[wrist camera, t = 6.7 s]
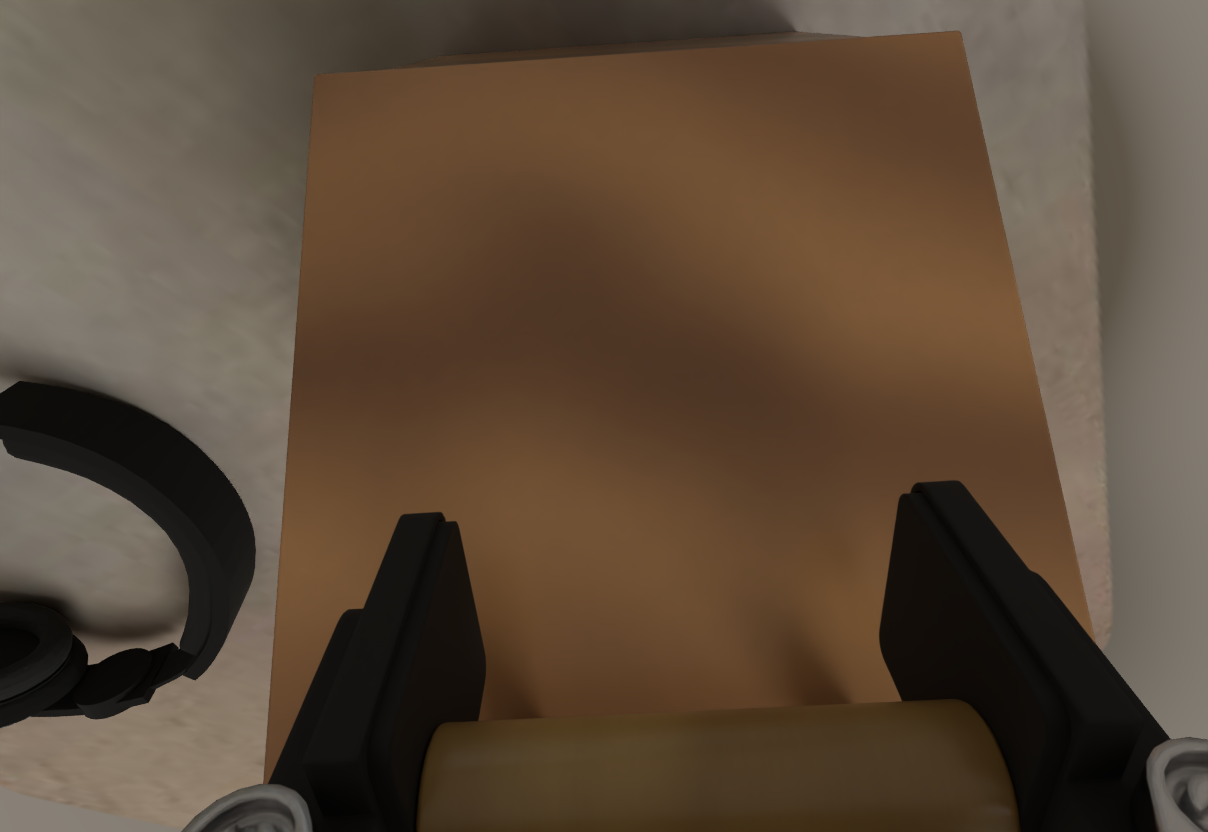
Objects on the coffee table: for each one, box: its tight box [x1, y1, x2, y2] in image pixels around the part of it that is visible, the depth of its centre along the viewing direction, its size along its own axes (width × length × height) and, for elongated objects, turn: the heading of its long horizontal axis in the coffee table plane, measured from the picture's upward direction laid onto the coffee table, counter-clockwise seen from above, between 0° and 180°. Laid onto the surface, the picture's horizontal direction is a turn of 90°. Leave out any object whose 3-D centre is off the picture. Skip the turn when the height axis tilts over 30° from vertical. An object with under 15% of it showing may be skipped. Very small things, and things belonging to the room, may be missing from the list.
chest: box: [393, 31, 859, 69], centre depth 25 cm, size 15×14×13 cm
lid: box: [263, 31, 1096, 832], centre depth 11 cm, size 15×14×5 cm
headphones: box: [0, 381, 256, 728], centre depth 36 cm, size 18×8×20 cm
